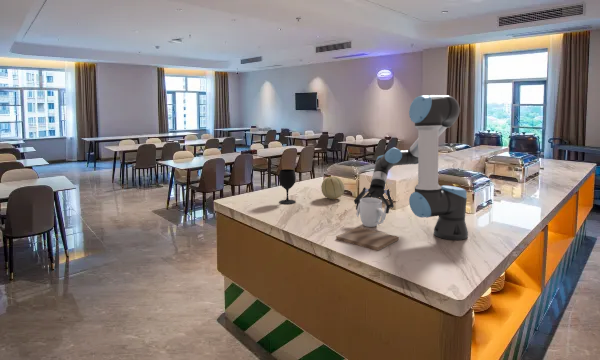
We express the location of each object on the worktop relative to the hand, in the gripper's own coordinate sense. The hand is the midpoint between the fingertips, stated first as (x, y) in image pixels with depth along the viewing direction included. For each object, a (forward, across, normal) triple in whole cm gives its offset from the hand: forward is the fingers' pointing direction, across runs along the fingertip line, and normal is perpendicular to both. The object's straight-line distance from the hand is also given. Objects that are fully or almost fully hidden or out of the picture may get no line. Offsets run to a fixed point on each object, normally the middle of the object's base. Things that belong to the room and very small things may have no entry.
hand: (370, 217), depth 212 cm
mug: (+2, 0, -5) cm, 5 cm away
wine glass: (-16, +60, -24) cm, 66 cm away
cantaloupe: (-30, +37, -37) cm, 60 cm away
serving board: (+17, -4, +10) cm, 20 cm away
